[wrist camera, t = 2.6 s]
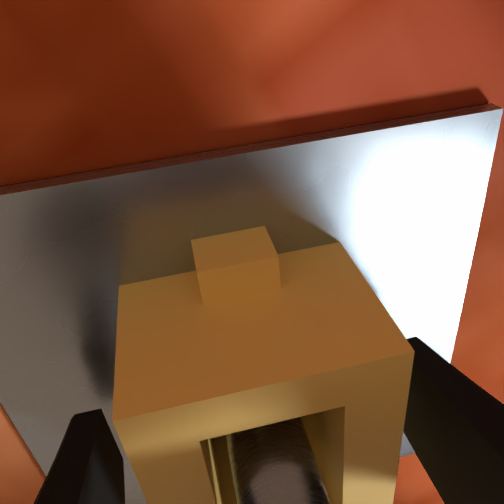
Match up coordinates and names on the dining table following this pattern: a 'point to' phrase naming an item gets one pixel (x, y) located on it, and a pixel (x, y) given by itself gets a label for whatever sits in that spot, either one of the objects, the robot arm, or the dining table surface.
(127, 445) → the yellow hollow rectangular block
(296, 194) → the grey peg base
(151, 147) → the dining table surface
